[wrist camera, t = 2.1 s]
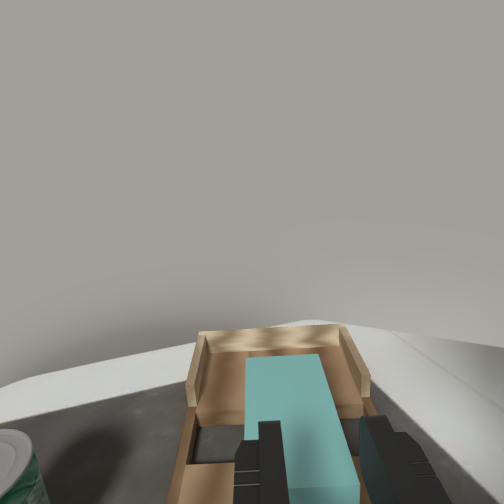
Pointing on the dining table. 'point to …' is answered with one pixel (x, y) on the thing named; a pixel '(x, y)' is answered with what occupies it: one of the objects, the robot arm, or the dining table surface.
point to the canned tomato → (19, 470)
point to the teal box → (302, 427)
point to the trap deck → (233, 395)
